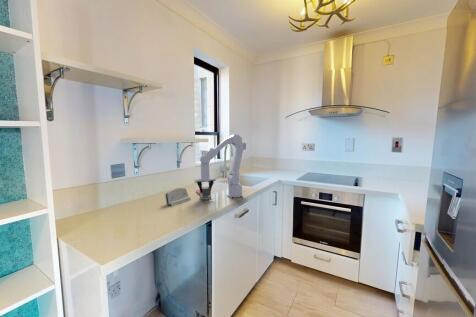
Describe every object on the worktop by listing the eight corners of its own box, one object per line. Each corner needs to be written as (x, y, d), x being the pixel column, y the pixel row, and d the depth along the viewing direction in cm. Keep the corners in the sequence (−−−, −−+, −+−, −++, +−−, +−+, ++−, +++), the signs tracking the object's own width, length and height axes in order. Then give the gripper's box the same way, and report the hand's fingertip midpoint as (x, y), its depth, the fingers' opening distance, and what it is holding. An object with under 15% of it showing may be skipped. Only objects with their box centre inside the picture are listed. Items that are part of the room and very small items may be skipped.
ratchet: (203, 191, 167) (203, 185, 166) (212, 199, 144) (212, 192, 143) (193, 192, 163) (193, 186, 163) (201, 201, 141) (201, 194, 140)
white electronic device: (171, 206, 130) (167, 190, 130) (166, 207, 132) (162, 192, 133) (191, 199, 144) (187, 185, 145) (186, 201, 146) (182, 187, 147)
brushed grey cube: (208, 193, 149) (208, 186, 149) (210, 195, 144) (210, 188, 144) (200, 194, 147) (200, 187, 146) (202, 196, 142) (202, 189, 141)
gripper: (213, 171, 151) (213, 189, 152) (193, 172, 145) (193, 191, 146) (216, 172, 144) (216, 192, 146) (195, 174, 138) (195, 194, 140)
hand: (205, 192), depth 145 cm, fingers closed on brushed grey cube, 6 cm apart
